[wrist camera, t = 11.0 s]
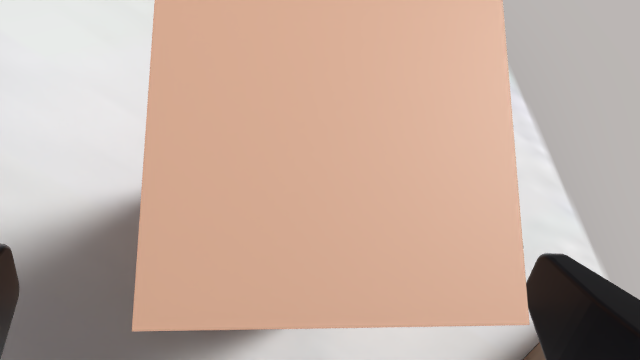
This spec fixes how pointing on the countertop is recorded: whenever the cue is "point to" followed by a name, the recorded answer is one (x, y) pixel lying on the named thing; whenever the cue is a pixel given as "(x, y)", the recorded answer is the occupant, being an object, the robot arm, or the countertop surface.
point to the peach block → (329, 167)
